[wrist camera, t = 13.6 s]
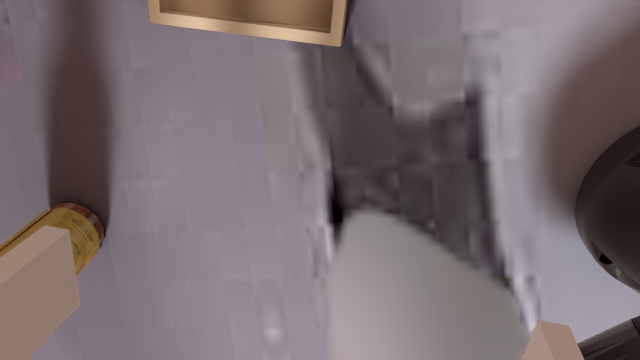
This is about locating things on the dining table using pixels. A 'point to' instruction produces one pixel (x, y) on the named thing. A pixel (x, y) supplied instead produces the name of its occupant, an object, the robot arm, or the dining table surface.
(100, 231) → the sauce bottle
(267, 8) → the serving tray
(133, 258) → the dining table surface
